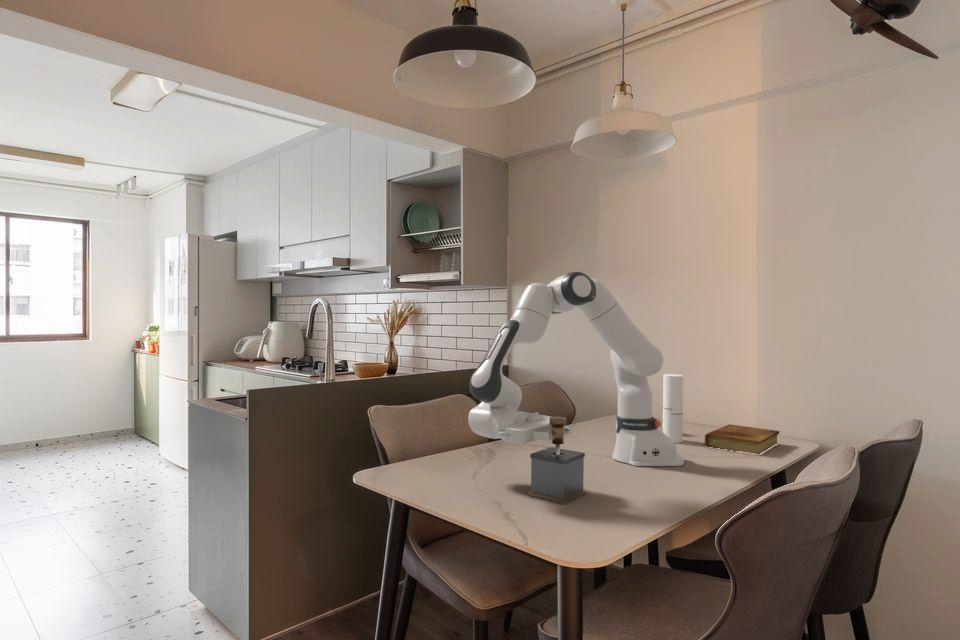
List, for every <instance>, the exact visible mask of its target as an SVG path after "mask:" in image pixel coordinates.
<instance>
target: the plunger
mask: <svg viewBox="0 0 960 640" xmlns="http://www.w3.org/2000/svg"><path fill="white" fill-rule="evenodd" d="M550 425H552V436H551V437H552V439H551V444H553V445H555V447H554V448H555V454H556V455H560V449H561V445H563V444H564V442H565V438H564V437H565V434H564V426H567V417H565V416H550Z"/></svg>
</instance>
